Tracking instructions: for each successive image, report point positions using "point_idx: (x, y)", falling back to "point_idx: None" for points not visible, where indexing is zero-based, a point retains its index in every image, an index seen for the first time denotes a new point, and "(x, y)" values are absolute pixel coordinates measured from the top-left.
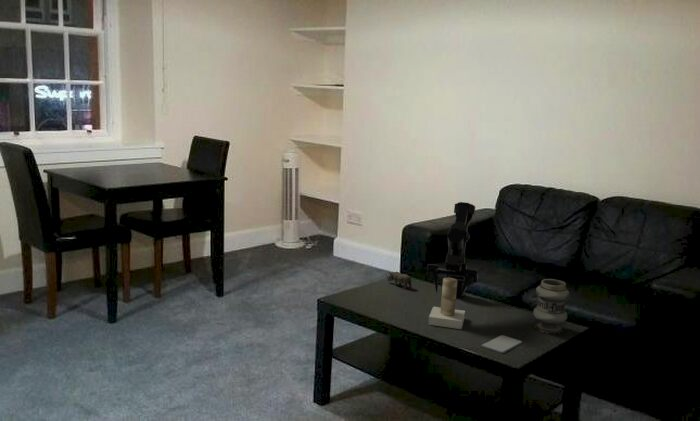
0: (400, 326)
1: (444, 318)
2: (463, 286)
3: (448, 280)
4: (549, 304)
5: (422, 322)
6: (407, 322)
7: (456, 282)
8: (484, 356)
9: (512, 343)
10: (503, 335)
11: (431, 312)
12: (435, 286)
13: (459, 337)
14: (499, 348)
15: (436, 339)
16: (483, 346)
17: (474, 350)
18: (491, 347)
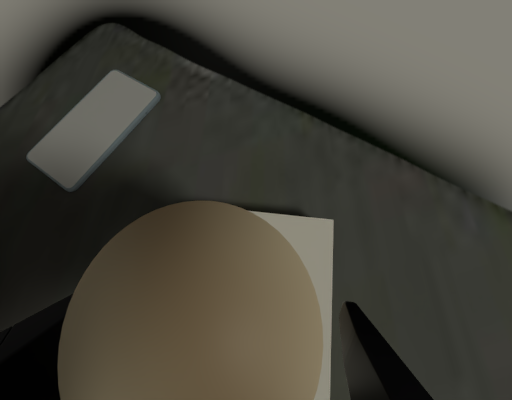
0: (423, 178)
1: (263, 217)
2: (48, 321)
3: (224, 262)
4: None
5: (350, 245)
6: (409, 227)
7: (107, 261)
8: (165, 48)
9: (62, 131)
10: (65, 187)
11: (328, 284)
12: (384, 339)
13: (215, 141)
14: (113, 86)
15: (286, 108)
16: (154, 90)
17: (184, 71)
18: (134, 86)
